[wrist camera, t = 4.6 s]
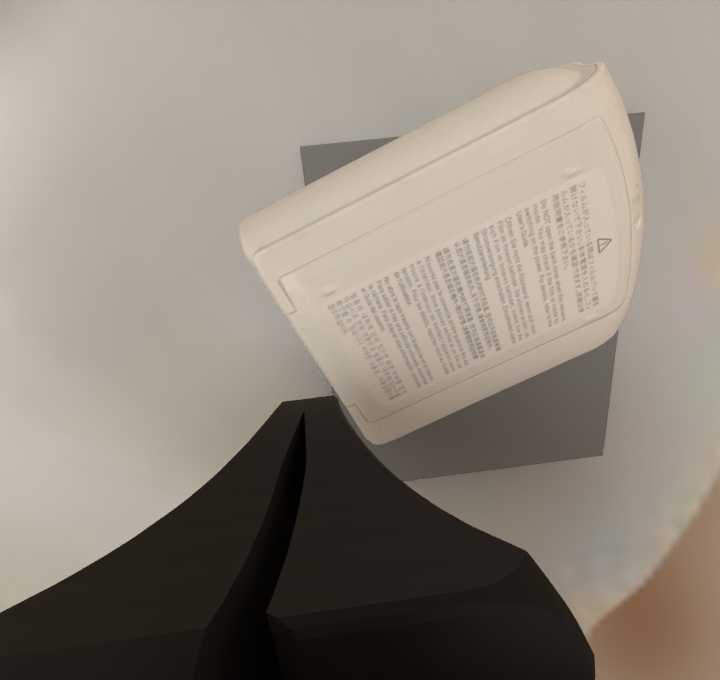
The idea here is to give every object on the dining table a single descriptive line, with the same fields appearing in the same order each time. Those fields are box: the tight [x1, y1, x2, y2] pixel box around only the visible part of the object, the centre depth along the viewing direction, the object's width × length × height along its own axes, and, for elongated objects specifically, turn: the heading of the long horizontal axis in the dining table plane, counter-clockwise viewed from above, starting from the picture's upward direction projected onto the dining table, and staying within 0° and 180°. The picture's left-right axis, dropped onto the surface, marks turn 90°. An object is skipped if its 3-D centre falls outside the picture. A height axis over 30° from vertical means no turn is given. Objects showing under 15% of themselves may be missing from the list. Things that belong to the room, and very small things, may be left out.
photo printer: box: [239, 62, 644, 445], centre depth 15 cm, size 10×4×12 cm
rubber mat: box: [300, 112, 645, 481], centre depth 19 cm, size 16×14×1 cm
